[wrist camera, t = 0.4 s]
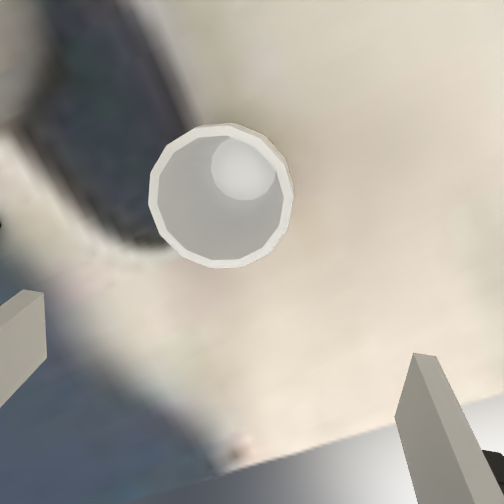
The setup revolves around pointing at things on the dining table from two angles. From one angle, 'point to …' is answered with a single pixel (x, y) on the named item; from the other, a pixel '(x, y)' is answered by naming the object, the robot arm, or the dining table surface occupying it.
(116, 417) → the dining table surface
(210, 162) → the foam cup
